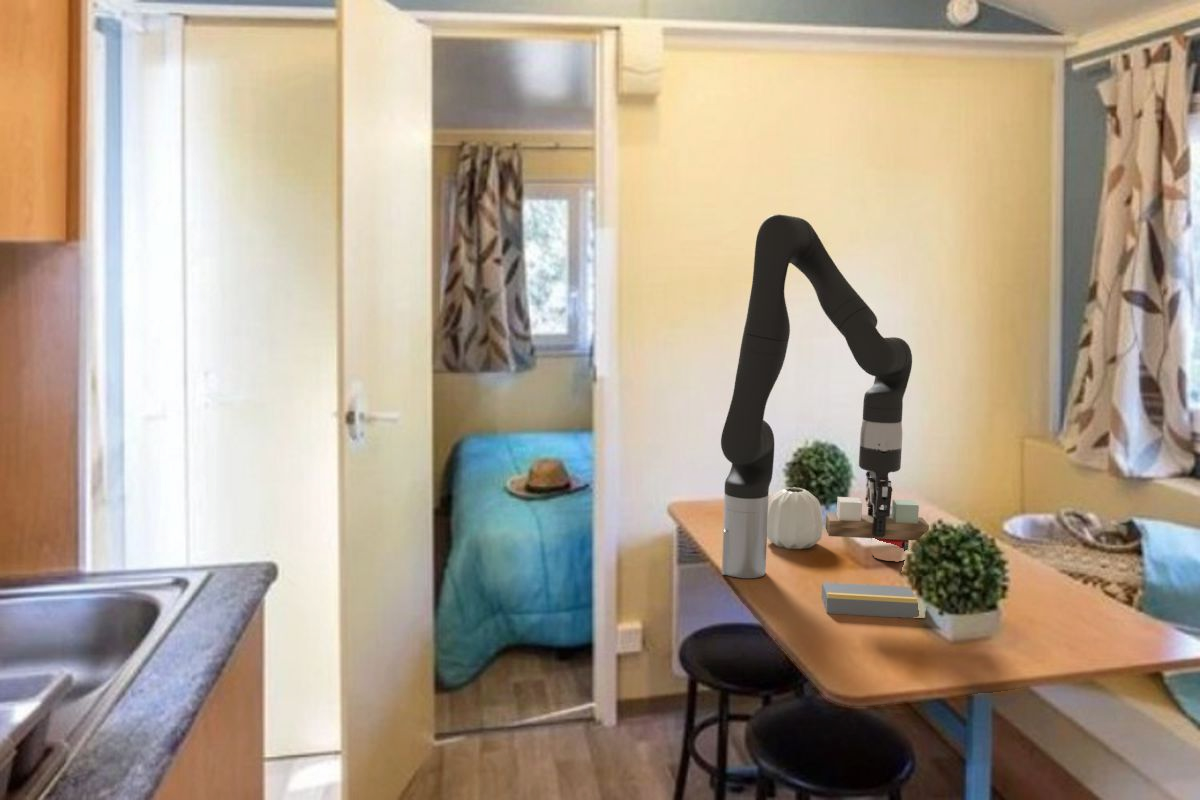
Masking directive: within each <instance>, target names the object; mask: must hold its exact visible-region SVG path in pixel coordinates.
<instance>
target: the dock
mask: <svg viewBox="0 0 1200 800" xmlns="http://www.w3.org/2000/svg"><path fill="white" fill-rule="evenodd" d="M821 584H822V585H821V599H822V602H823V605H824V609H825V611H826V614H831V615H833V614H834V615H835V614H836V615H849V616H850V615H851V616H865V617H885V618H898V617H900V618H899V619H912V618H911V617H918V616H919V610H918V602H917V599H916V597H915V596H914V594H913V592H912V591H911V589H910V587H911V586H903V585H902V586H900V585H899V586H898V585H884V584H883V585H880V584H865V583H848V582H845V583H844V582H830V581H828V582H827V581H821ZM901 617H902V618H901ZM906 617H907V618H906ZM908 617H910V618H908Z"/></svg>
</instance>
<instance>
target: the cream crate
mask: <svg viewBox="0 0 1200 800" xmlns="http://www.w3.org/2000/svg"><path fill="white" fill-rule="evenodd" d="M836 503H837V504H836V514H837V516H838V519H839V520H848V521H861V515H862V510H863V509H862V508H863V502H862V501H861V498H859V497H853V496H852V497H847V496H837V501H836Z"/></svg>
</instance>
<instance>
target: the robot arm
mask: <svg viewBox="0 0 1200 800" xmlns="http://www.w3.org/2000/svg"><path fill="white" fill-rule="evenodd" d="M754 247H755V248H754V259H753V261H754V262H753V272H752V273H753V274H752V283H751V288H750V289H751V290H750V296H749V301H748V307H747V314H746V319H745V325H744V329H743V333H742V339H741V344H740V350H739V356H738V362H737V363H738V364H737V369H736V372H735V373H736V375H735V380H734V388H733V392H732V396H731V397H732V398H731V402H730V405H729V409H728V412H727V415H726V419H725V423H724V424H723V429H722V431H721V437H720V446H721V451H722V453H723V456H724V457H725V459H726V460H727V461H728V462H730V463H731V468H730V469H729V470H730V471H729V473H728V475H727V476H726V479H725V481H724V496H723V498H724V501H723V502H724V503H723V524H722V525H723V526H722V527H723V528H722V552H721V553H722V558H721V559H722V561H721V575H722V576H729V577H733V578H738V579H756V578H761V577H764V576H765V575H766V570H767V568H766V567H767V548H768V547H767V544H768V542H767V539H768V537H767V521H768V501H769V492H770V491H769V489H770V484H771V482H772V478H773V474H774V473H773V472H774V462H775V461H774V460H775V459H774V458H775V436H774V432H773V431H774V430H773V429H772V428H771V426H770V424H769V423H768V422H767V421H765V420H764V418H765V417H764V416H765V411H766V405H767V403H768V400H769V397H770V395H771V392H772V391H773V388H774V386H775V384H776V382H777V380H778V378H779V376H780V373H781V371H782V369H783V366H784V363H785V359H786V355H787V350H788V346H789V339H790V335H791V333H790V332H791V326H790V325H791V324H790V317H789V314H788V308H787V307H788V306H787V302H786V297H785V296H786V295H785V286H786V285H785V284H786V279H787V273H788V268H789V266H790V265H789V264H792V266H794V267H795V268H796V269H798V270H799V272H801V273H802V274H803V275H804V276H805V277H806V278H807V280H809V282H810V283H811V286H812V287H813V290H814V292H815V294H816V297H817V299H818V302H819V305H820V307H821V309H822V310H823V312H824V314H825V315H826V317H827V318H828V319H829V321H830V322H831V323H832V324H833V325H834V327H835V328H836V329H837V330H838V332H839V333H840V334H841V336H843V338H844V339H845V341H846V344H847V346H848V348H849V350H850V351H851V354H852V356H853V359H855V361H856V363H857V365H858V366H859V367H860V368H861V369H862V370H863V371H864V372H865V373H867V374H868V375H870V376H872V377H874V381H873V385H872V386H871V388H869V389H868V390H866V392H865V393H864V396H863V397H864V398H863V403H862V404H863V406H862V421H861V427H860V435H859V436H860V437H859V454H858V455H859V456H858V457H859V458H858V467H859V468H860V469H862V470H864V471H866V472H865V476H866V477H865V478H866V479H865V482H866V483H865V499H864V500H865V502H866V507H867V515H873V532H872V534H873V536H875V537H884V536H885V529H886V518H887V517H889V515H890V506H892V505H891V504H892V503H891V502H892V494H893V493H892V492H893V487H892V480H890V479H889V478H890V477H889V474H890V473H897V472H899V471H900V470H901V467H902V466H901V465H902V447H903V425H902V423H903V409H904V408H903V407H904V405H903V404H904V403H903V400H904V396H905V394H906V390H907V387H908V383H909V380H910V376H911V372H912V365H913V355H912V350H911V348H910V345H909V344H908V342H907V341H905V340H904V339H902V338H901V337H894V336H892V337H891V336H889V337H883V336H882V335H881V333H880V332H879V330H878V329H877V326H878V318H877V315H876V314H875V313H874V311H873V310H872V309H871V307H870V306H869V305H868V304H867V303H866V302H865V301H864V299H863V297H861V296H860V295H859V294H858V292H857V291H856V290H855V288H853V286H852V285H851V284H850V283H849V282H848V280H847V279H846V277H845V276H844V275H843V273H842V272H841V271H840V270H839V268H838V266H837V265H836V263H835V262H834V260H833V259H832V257H831V256H830V255H829V252H828V251H827V249H826V248H825V246H824V244H823V242H822V241H821V239H820V237H819V235H818V234H817V232H816V230H815V229H814V227H813V226H812V225H811V223H810V222H808V221H807V220H805V219H804V218H801V217H798V216H793V215H787V214H786V215H785V214H772V215H770V216H768V217H767V218H766V219H765V220H763V222H762V223H761V225H760V226H759V229H758V232H757V235H756V241H755V246H754ZM881 506H884V510H880V508H881Z"/></svg>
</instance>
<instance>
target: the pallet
mask: <svg viewBox="0 0 1200 800" xmlns="http://www.w3.org/2000/svg"><path fill="white" fill-rule="evenodd" d="M825 529H826V533H827V536H829V537H835V538H836V537H839V538H840V537H841V538H858V539H859V538H860V539H872V538H876V539H896V540H909V541H917V540H918V539H919V538H920V537H921V536H922V535H923V534H924V533H925V532H927V531H928V530H930V525H929V524H928V522H927V521H926V520H925V519H924V517H920V516H918V524H913V523H895V521H894V520H893V518H892V516H889V517H887V518H886V529H885V536H884V537H875V536H873V534H872V532H873V515H868V514H861V521H848V520H839V519H838V516H837V512H835V513H834V512H833V513H831V512H826V515H825ZM917 542H918V541H917Z"/></svg>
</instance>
